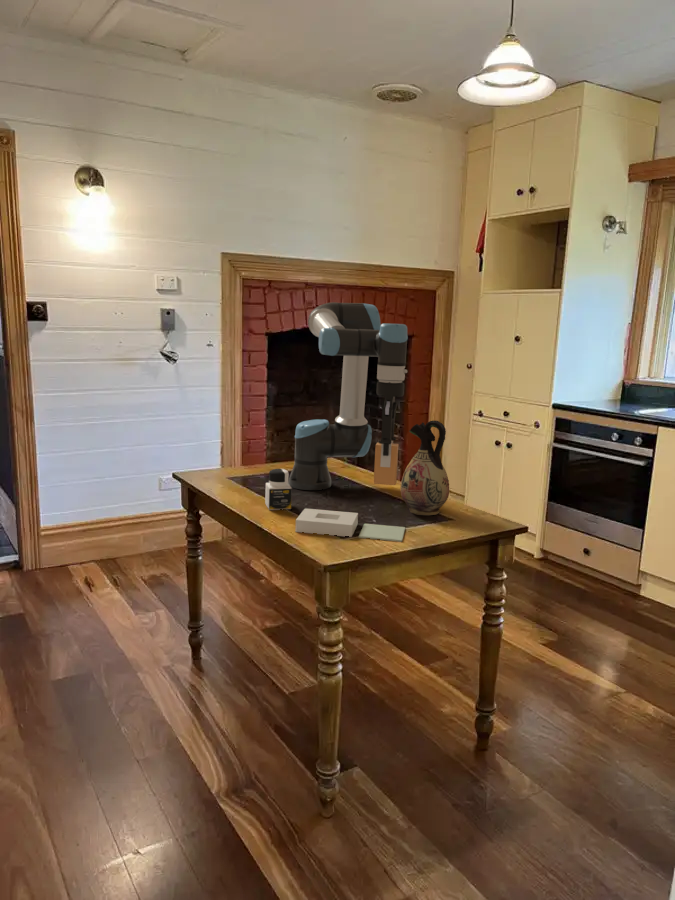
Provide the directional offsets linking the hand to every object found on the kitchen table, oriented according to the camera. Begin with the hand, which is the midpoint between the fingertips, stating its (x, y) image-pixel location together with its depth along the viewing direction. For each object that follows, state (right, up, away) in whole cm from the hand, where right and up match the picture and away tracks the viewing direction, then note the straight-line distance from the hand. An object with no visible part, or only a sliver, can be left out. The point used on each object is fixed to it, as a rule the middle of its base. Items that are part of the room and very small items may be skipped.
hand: (386, 464), depth 191 cm
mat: (-1, -20, +4) cm, 20 cm away
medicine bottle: (-32, -14, +26) cm, 44 cm away
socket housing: (-16, -18, +7) cm, 26 cm away
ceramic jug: (+14, -16, +27) cm, 34 cm away
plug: (0, -5, +1) cm, 5 cm away
